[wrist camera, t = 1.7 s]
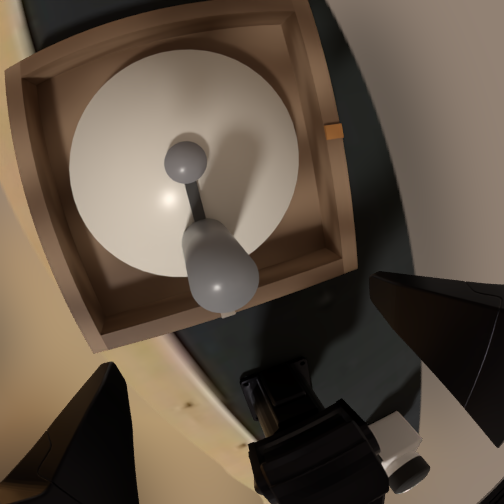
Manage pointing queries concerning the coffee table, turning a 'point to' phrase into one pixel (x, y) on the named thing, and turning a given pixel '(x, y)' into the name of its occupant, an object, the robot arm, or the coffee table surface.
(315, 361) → the coffee table surface
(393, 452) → the medicine bottle
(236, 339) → the coffee table surface
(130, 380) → the coffee table surface
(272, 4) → the dial frame
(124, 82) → the dial
